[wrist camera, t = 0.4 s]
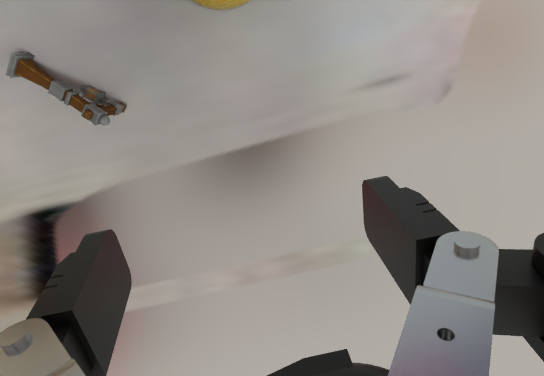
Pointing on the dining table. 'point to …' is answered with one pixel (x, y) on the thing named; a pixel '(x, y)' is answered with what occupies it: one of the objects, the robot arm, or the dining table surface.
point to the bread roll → (221, 3)
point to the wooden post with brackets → (65, 90)
